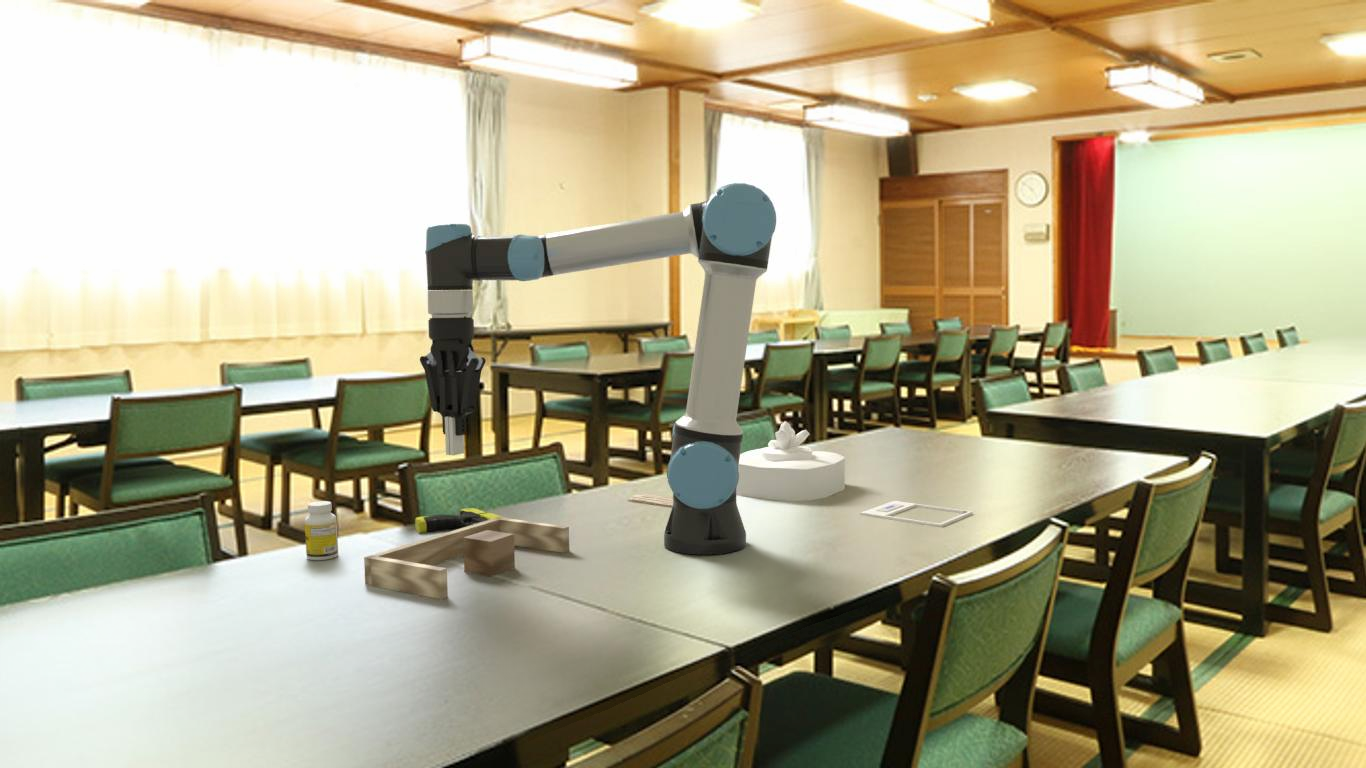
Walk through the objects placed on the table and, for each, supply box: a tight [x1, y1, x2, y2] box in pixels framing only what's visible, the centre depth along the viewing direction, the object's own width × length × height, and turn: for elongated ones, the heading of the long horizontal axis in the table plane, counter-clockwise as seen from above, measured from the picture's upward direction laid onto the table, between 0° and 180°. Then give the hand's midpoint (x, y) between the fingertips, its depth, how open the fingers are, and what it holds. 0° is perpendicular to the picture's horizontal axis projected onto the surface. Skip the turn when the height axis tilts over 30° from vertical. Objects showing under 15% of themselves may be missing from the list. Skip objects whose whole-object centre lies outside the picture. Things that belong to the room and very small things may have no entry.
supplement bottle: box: [304, 500, 339, 561], centre depth 188 cm, size 5×5×10 cm
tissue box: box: [736, 420, 846, 502], centre depth 245 cm, size 25×25×16 cm
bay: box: [363, 516, 570, 600], centre depth 180 cm, size 16×33×4 cm, turn 149°
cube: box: [463, 530, 516, 577], centre depth 178 cm, size 6×6×6 cm
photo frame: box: [859, 500, 973, 528], centre depth 218 cm, size 15×1×18 cm
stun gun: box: [414, 507, 505, 534], centre depth 206 cm, size 3×19×15 cm
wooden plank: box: [627, 493, 673, 509], centre depth 229 cm, size 24×7×2 cm, turn 55°
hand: (455, 453), depth 180 cm, fingers closed
